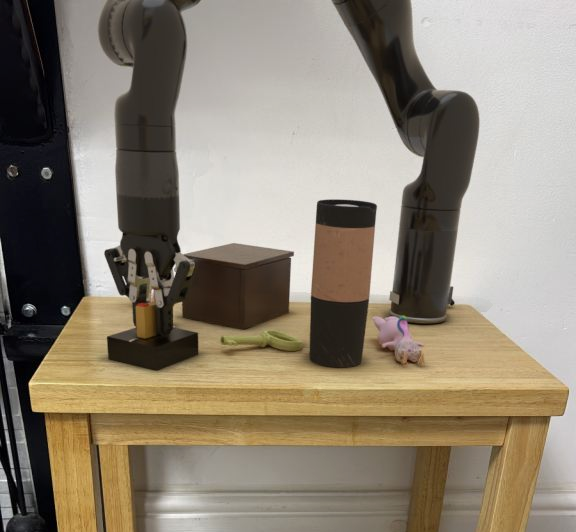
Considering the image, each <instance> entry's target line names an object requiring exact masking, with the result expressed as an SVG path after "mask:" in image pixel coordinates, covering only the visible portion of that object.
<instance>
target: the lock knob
mask: <svg viewBox="0 0 576 532" xmlns="http://www.w3.org/2000/svg"><path fill="white" fill-rule="evenodd" d="M155 307H158V306H157V305H156V301H152V300H151V302H149V303H139V304H137V306H136V326H135V328H136V327H137V337H139V338H144V339H146V338H149V337H152V336H155V335H157V334H156V312H155Z"/></svg>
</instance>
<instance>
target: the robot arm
mask: <svg viewBox="0 0 576 532" xmlns="http://www.w3.org/2000/svg"><path fill="white" fill-rule="evenodd" d="M202 1H203V0H106V1H105V2H104V4H103V6H102V8H101V10H100V14H99V16H98V17H99V18H98V23H97V36H98V42H99V45H100V47H101V50H102V52H103V53H104V54H105V56H106V57H107V59H109V60H110V61H111V62H112V63H113V64H115V65H117V66H119V67H122V68H127V69H132V73H131V79H130V80H131V82H130V85H129V86H130V87H129V89H128V90H127V91H125V92H124V93H121V94H120V95H119V96H117V97H116V100H115V102H114V111H113V112H114V113H113V114H114V116H113V117H114V132H115V148H116V149H115V166H114V169H115V171H114V172H115V173H114V174H115V193H116V211H117V227H118V230H119V231H120V232H121V233H122V235H121V239H120V241H119V245H117V246H115V247H110V248H107V249H105V250H104V251H103V255H104V258H105V260H106V263H107V266H108V268H109V271H110V273H111V276H112V278H113V281H114V284H115V287H116V290H117V292H118V294H119V295H120V296H125V297H127V298H128V299H129V301H130V302H131V304H132V305H131V307H132V323H133V326H134V327H135V328H136V331H137V327H136V306H137V304H139V303H149V301H146V299H147V298H148V293H149V284H150V286H151V288H152V291H154V294H155V301H156V305H157V306H158V307H155V312H156V334H157V335H158V336H165V335H168V334H170V332H171V331H172V329H173V326H174V306H175V305H177V304H180V303H182V302H183V301H185V300H186V298H187V295H188V292H189V290H190V287H191V284H192V282H193V279H194V276H195V274H196V271H197V268H198V265H199V264H198V261H197V260H196V259H188V258H187V257H186V256H184V255H183V254H184V253H182V249H181V246H180V244H179V241H178V235H179V232H180V229H181V223H180V222H181V214H180V213H181V212H180V209H181V208H180V173H179V172H180V170H179V164H178V157H177V123H176V122H177V121H176V110H177V105H178V102H179V98H180V94H181V89H182V83H183V77H184V72H185V68H186V63H187V62H186V61H187V54H188V33H187V26H186V23H185V19H184V17H183V14H182V12H184V11H187V10H190V9H192V8H194V7H196V6H198V5H199V4H200V3H201V2H202ZM330 1H331V3H332V5H333V7H334V9H335V10H336V12H337V14H338V16H339V17H340V19H341V21H342V24H343V25H344V27H345V28H346V30H347V32H348V34H349V35H350V37H351V38H352V40H353V42H354V43H355V45H356V48H357V50H358V51H359V53H360V55H361V57H362V59H363V61H364V62H365V64H366V66H367V68H368V70H369V71H370V73H371V75H372V77H373V78H374V80H375V82H376V84H377V86H378V88H379V90H380V93H381V95H382V98H383V99H384V103H385V104H386V107H387V109H388V113H389V115H390V117H391V119H392V121H393V124H394V126H395V129H396V132H397V133H398V136H399V138H400V140H401V142H402V144H403V145H404V146H405V148H406V149H407V150H408V151H409V152H410V153H412V154H413V155H415V156H417V157H421V158H422V164H421V169H420V173H419V174H418V176H417V177H416V178H415V179H414V180H413V181H411V182H409V183H407V184H406V185H405V186H404V187H403V190H402V194H401V205H400V213H399V222H398V234H397V242H396V252H395V260H394V261H395V262H394V273H393V279H392V280H393V281H392V290H390V291H389V301H390V308H389V313H388V315H389V317H392V316H394V317H397V318H400V317H401V316H403V315H404V316H405V317H406V320H407V323H411V324H422V325H424V324H425V325H426V324H427V325H430V324H431V325H432V324H439V323H443V322H445V321H447V317H448V313H447V312H448V306H451V307H453V306H454V305H455V301H454V299H453V292H454V286H451V283H452V276H453V268H454V261H455V254H456V246H457V240H458V233H459V232H458V231H459V225H460V217H461V209H462V204H463V199H464V197H465V194H466V193H467V191H468V189H469V186H470V183H471V180H472V175H473V167H474V163H475V157H476V154H477V153H476V152H477V146H478V142H479V136H480V123H481V120H480V111H479V107H478V104H477V102H476V100H475V99H474V98H473V96H472V95H470V94H469V93H468V92H466V91H463V90H452V89H437V88H436V87H435V86H434V84H433V83H432V81H431V80H430V78H429V76H428V74H427V72H426V71H425V69H424V67H423V64H422V63H421V61H420V58H419V56H418V54H417V50H416V48H415V41H414V22H413V21H414V20H413V7H412V0H330ZM128 263H129V264H128ZM174 266H175V267H174ZM174 272H175V273H174ZM160 278H164V279H163V280H161V281H160ZM164 294H165V296H164Z"/></svg>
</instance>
